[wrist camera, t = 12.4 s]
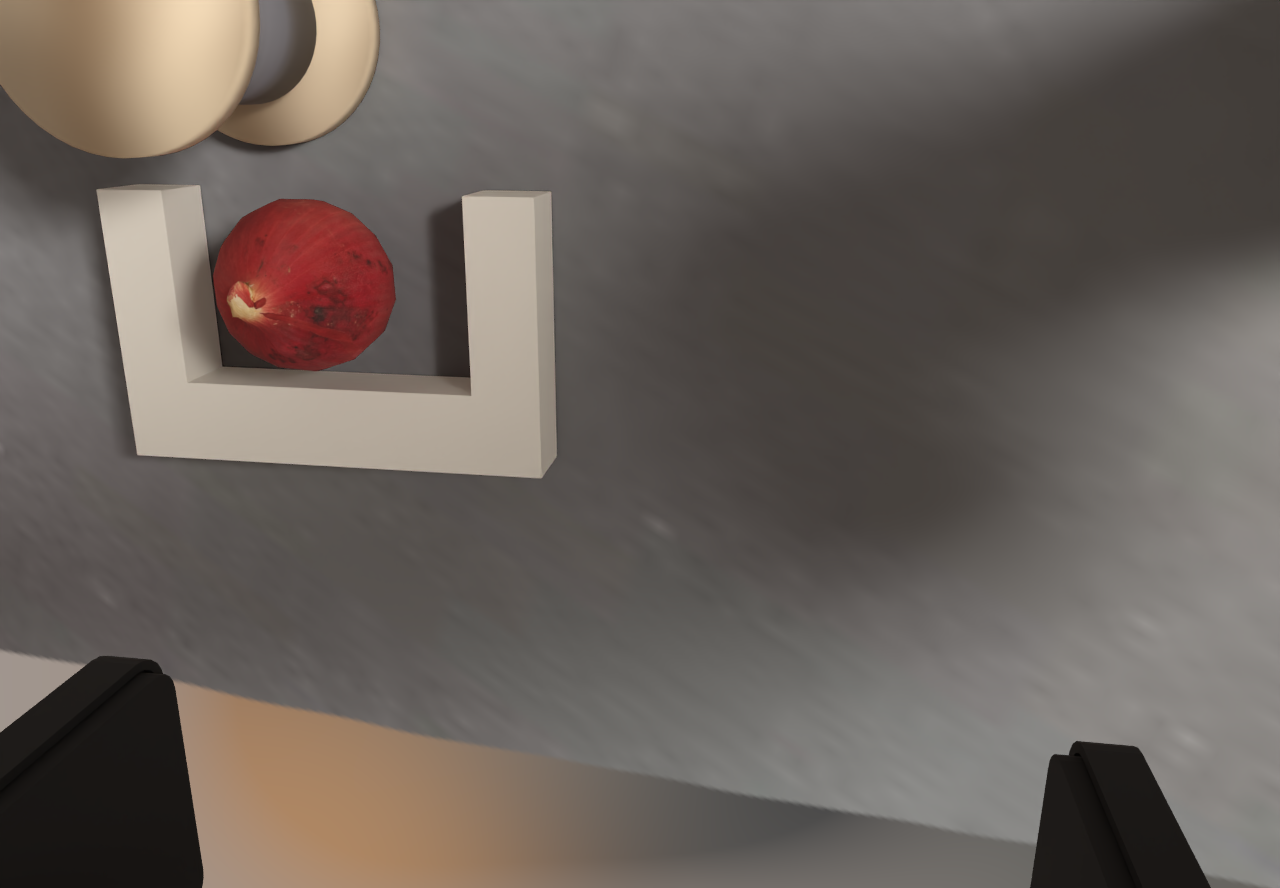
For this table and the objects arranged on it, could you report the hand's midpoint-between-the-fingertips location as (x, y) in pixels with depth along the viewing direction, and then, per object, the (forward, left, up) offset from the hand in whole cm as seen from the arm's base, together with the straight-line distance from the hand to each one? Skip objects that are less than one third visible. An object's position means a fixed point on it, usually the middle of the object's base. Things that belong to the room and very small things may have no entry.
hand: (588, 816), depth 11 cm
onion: (+15, -1, -28) cm, 32 cm away
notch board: (+15, +1, -28) cm, 32 cm away
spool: (+17, -9, -28) cm, 34 cm away
